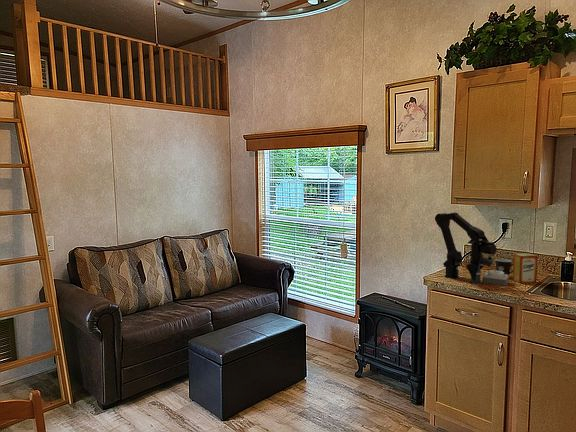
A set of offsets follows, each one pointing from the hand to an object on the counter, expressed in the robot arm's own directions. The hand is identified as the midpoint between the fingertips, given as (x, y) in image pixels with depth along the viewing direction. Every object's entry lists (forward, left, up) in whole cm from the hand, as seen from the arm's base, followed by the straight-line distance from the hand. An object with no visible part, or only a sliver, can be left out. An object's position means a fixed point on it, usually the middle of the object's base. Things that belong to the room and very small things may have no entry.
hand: (475, 279), depth 234 cm
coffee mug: (+11, +23, -2) cm, 26 cm away
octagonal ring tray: (+9, +7, -2) cm, 12 cm away
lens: (0, 0, -2) cm, 2 cm away
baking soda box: (+22, +18, -2) cm, 29 cm away
